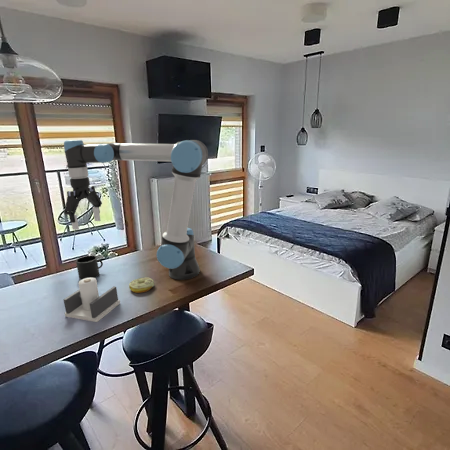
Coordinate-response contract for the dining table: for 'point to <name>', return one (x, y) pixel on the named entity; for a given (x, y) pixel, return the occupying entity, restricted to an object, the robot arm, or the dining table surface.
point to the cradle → (91, 305)
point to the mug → (88, 267)
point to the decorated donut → (141, 285)
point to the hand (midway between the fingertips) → (87, 225)
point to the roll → (88, 291)
